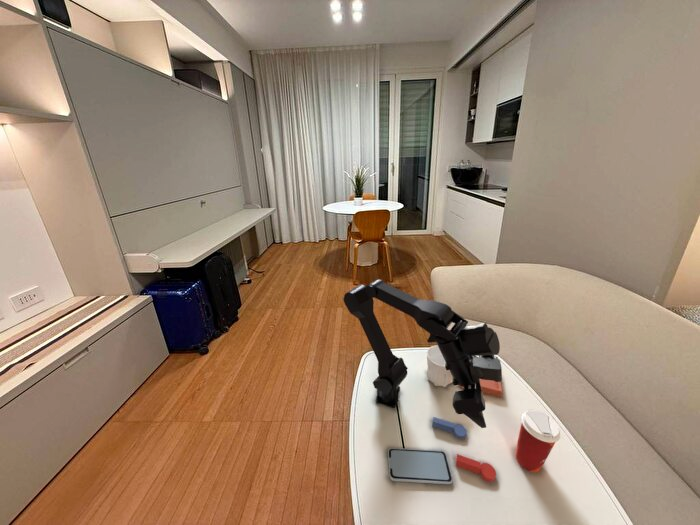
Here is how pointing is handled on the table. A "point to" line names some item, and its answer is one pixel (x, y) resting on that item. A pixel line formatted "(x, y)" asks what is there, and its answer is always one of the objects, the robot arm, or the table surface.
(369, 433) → the table surface
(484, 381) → the terracotta tray
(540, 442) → the paper cup
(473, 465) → the red spoon
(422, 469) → the smartphone
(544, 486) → the table surface
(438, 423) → the blue spoon
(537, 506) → the table surface
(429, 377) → the cup
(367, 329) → the robot arm
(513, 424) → the table surface
